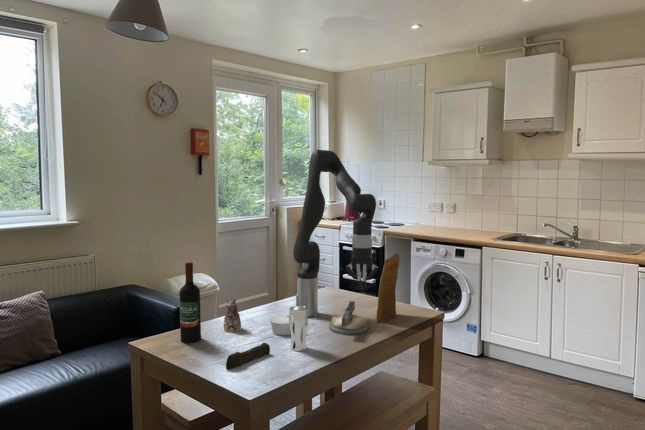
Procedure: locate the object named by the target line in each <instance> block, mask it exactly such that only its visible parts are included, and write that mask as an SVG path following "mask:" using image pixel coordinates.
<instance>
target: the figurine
mask: <svg viewBox="0 0 645 430" xmlns="http://www.w3.org/2000/svg"><path fill="white" fill-rule="evenodd" d="M236 300H237V299H232V300H229V301H228V302H227V303H226V304H225V309H226V310H225V312H224V320H223V331H224V332H227V333H235V332H238V331H240V330H241V329H242V322H241V317H240V316H241V315H240V313H239V311H238V306H237V304H236Z"/></svg>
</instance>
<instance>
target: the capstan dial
mask: <svg viewBox="0 0 645 430" xmlns="http://www.w3.org/2000/svg"><path fill="white" fill-rule="evenodd" d="M355 309H356V301H354V300H350V301H349V302H348V305H347V307H346V308H345V309H344V313H343V314H338V315H335V316H333V317H331V322H332V326H334V327H336V328H339V329H346V330H352V329H360V328H363V327H364V326H365V325H366V323H367V322H366V318H365V317H364V316H362V315H359V314H358V315H357V314H353V313H354V312H355Z"/></svg>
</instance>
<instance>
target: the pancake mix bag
mask: <svg viewBox="0 0 645 430" xmlns="http://www.w3.org/2000/svg"><path fill="white" fill-rule="evenodd" d="M399 266H400V255H399V253H396V254H394V255H392V256H391V257H389V258H386V259H385V260H384V263H383V268H382V272H381V276H380V280H379V287H378V297H377V308H376V315H375V321H376V323H386V322H387V321H390V320H391V319H393V318H395V317H396V316H397V309H396V308H397V305H396V304H397V301H396V299H397V298H396V287H397V281H398V276H399V275H398V274H399V273H398V272H399Z"/></svg>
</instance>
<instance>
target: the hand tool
mask: <svg viewBox="0 0 645 430" xmlns="http://www.w3.org/2000/svg"><path fill="white" fill-rule="evenodd" d="M270 352H271V347H270V345H269V343H266V342H262V343H261V344H259V345H257V346H254V347H251V348H250V349H247V350H245V351H242V352H239V351H236V352H234V353H231V354H229V355H228V357H227V358H226V362H225V369H226V370H232V369H236V368H238V367H241V366H242V364H244V363H247V362H249V361H251V360H253V359H256V358H258V357H261V356H264V355H265V354H266V355H269V354H271V353H270Z"/></svg>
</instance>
